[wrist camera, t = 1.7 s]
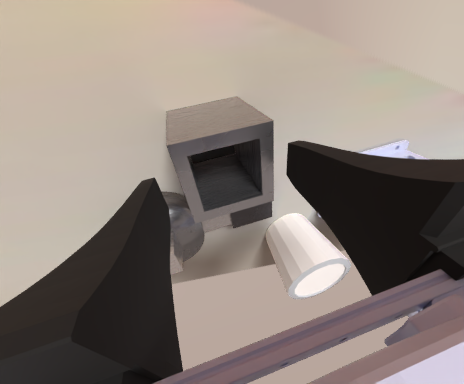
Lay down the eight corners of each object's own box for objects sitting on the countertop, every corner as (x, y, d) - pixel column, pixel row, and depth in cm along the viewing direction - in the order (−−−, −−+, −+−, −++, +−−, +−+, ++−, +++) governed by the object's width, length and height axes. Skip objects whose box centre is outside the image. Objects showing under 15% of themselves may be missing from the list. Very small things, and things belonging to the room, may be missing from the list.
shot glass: (249, 238, 24) (274, 295, 18) (292, 200, 22) (334, 251, 16) (281, 253, 27) (309, 303, 22) (319, 222, 25) (361, 268, 20)
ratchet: (262, 163, 18) (289, 196, 14) (264, 217, 22) (285, 253, 18) (106, 204, 16) (86, 255, 12) (142, 254, 20) (136, 302, 16)
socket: (236, 96, 14) (273, 120, 9) (243, 158, 17) (273, 200, 12) (166, 111, 13) (166, 145, 8) (186, 173, 16) (195, 223, 11)
